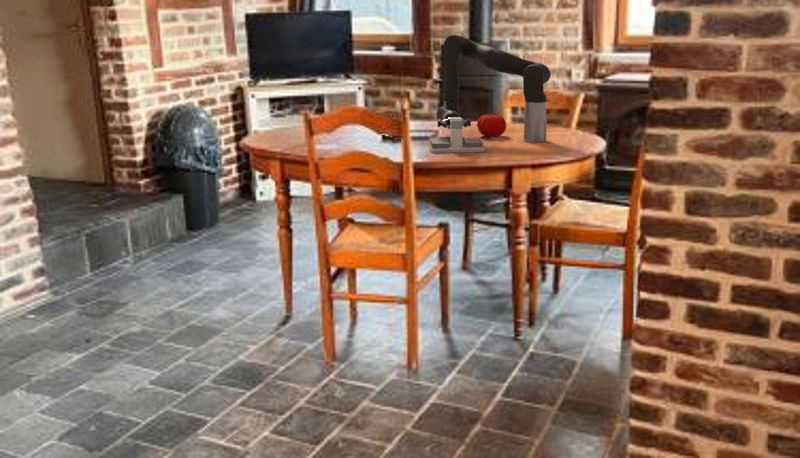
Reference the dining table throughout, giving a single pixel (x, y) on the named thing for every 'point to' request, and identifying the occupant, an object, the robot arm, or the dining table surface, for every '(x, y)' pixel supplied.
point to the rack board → (467, 146)
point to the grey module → (456, 132)
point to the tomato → (491, 125)
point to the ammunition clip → (389, 136)
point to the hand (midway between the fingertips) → (455, 125)
